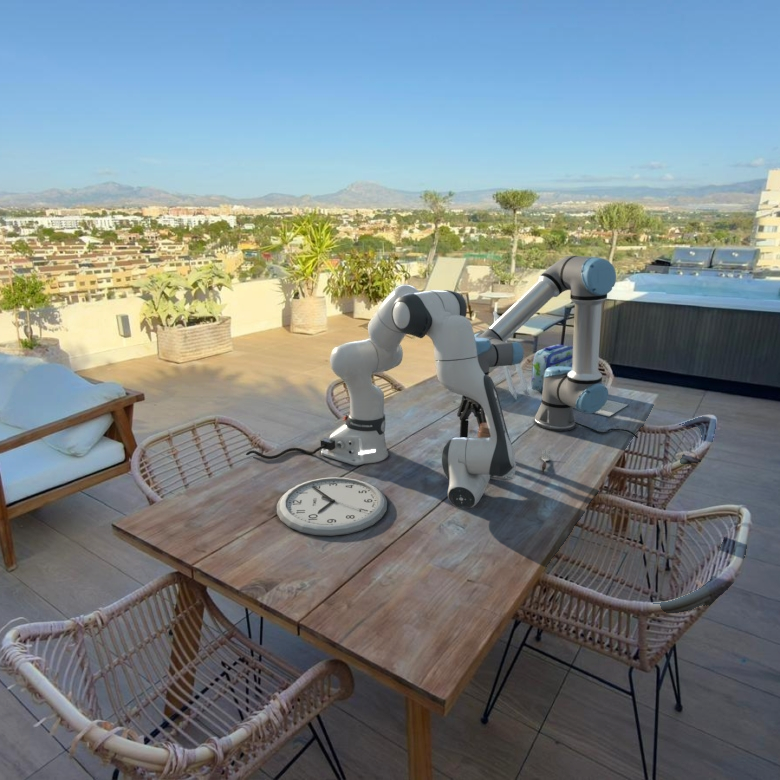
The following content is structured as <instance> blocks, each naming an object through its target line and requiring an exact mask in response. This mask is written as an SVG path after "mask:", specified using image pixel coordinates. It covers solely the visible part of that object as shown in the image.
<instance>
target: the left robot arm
mask: <svg viewBox="0 0 780 780" xmlns="http://www.w3.org/2000/svg"><path fill="white" fill-rule="evenodd" d="M467 312H468V307H467V303H466V300H465V298H464V296H463V295H462V294H460V293H459V292H457V291H453V290H449V289H446V290H445V289H444V290H426V291H420V290H419V289H418V288H416V287H414V286H412V285H409V284H401V285H398V286H397V287H395V288H394V289H393V290H392V291H391V292H389V294H388V295H387V296H386V297H385V298H384V300H383V301H381V303H380V305H379V306H378V308H377V310H376V311H375V313H374V314H373V316H372V318H371V319H370V320H369V322H368V324H367V333H368V336H369V338H366V339H362V340H356V341H350V342H345V343H342V344H340V345H338V346H336V347H334V348H333V349H332V351H331V353H330V356H329V365H330V369H331V370H332V372H333V374H334V375H336V376H337V377H339V378H340V379H341V380H342V381H343V383H345V385H346V387H347V390H348V396H349V411H348V413H347V414H345V416H344V417H343V418H342V422H345V423H344V424H342V425H341V426H339V427H337V429H335V430H333V432H331V434H330V435H329V437H324V438H322V439H320V446H319V447H316V448H315V449H313V450H312V451H310V450H306V449H304V448H300V447H290V448H286V449H284V450H282V451H280V452H279V453H277V454H275V455H265V454H263V453H261V452H260V451H257V450H255V449H253V450H252V449H251V450H249V451H247V452H246V453H245V455H246V456H250V455H251V454H255V455H257V456H259V457H261V458H263V459H266V460H272V459H276V458H277V459H278V458H279V457H282V456H283V455H285V454H287V453H289V452H293V451H294V452H295V451H296V452H301V453H304V454H307V455H314V454H316V453H317V452H320V455H321V456H323V457H326V458H329V459H332V460H336V461H339V462H342V463H345V464H349V465H352V466H361V465H366V464H373V463H379V462H382V461H384V460H386V459H387V458H388V457H389V451H388V448H387V443H386V437H385V436H386V434H385V431H386V414H385V393H384V391H383V389H382V388H381V387H380V386H378V385H377V384H374V383H373V380H372V376H373V375H374V374H379V373H384V372H388V371H390V370H392V369H395V368H396V367H399V366H400V364H401V363H402V361H403V358H404V351H403V347H402V345H401V342H402V341H403V340H404V338H405V337H406V335H409V336H413V337H416V338H419V339H423V338H424V337H425V336H427V337H428V338H429V339H430V340H431V341H432V344H433V354H434V365H435V372H436V376H437V377H436V378H437V379H438V381H439V383H440V384H441V385H442V386H443V387H444V388H445V389H447V390H448V391H450V392H452V393H454V394H457V395H460V396H462V395H463V396H466V397H469V398H471V399H473V400H475V401H476V402H478V403H479V404H480V405H481V406H482V408H483V410H484V413H485V417H486V421H487V425H488V429H489V433H490V437H487V438H478V437H470V436H468V437H460V436H459V437H456V436H455V437H452V438H450V439H449V440H448V441H447V443H446V444H445V446H444V447H443V450H442V452H441V453H442V454H441V465H442V470H443V473H444V475H445V478H446V479H447V480H448V481H449V482H448V488H447V498H448V500H449V502H450V504H452V505H453V506H454V507H455V508H458V509H462V510H469V509H472V508H474V507H475V506H476V505H477V504H478V503H479V502H480V500H481V499H482V496H484V493H485V490H486V489H487V486H488V485H489V483H490V480H496V481H501V482H508V481H511V480H513V479H514V477H515V474H516V469H517V463H516V455H515V454H516V453H515V449H514V447H513V444H512V441H511V438H510V436H509V433H508V428H507V425H506V420H505V417H504V414H503V410H502V406H501V405H502V404H501V401H500V398H499V395H498V391H497V388H496V385H495V383H494V380H493V379H492V377H491V376H490V375H489V376H487V375H485V374H484V372H483V371H482V369H481V367H480V365H479V362H478V355H477V347H476V341H475V336H474V335H475V332H474V329H473V325H472V323H471V321H470V319H469V318H467Z"/></svg>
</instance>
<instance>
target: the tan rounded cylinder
mask: <svg viewBox="0 0 780 780" xmlns="http://www.w3.org/2000/svg"><path fill="white" fill-rule="evenodd" d="M487 437H490V433H489V429H488V425H487V423H481V424H480V429H479V428H478V430H477V438H487Z"/></svg>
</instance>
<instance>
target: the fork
mask: <svg viewBox="0 0 780 780" xmlns="http://www.w3.org/2000/svg"><path fill="white" fill-rule="evenodd" d="M541 460H542V461H543V463H542V465H541V474H544V473H545V469H546V468H547V463H546V462H548V461H550V460H551V452H549V451H547V450H544V449H543V450H542V455H541Z"/></svg>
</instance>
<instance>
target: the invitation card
mask: <svg viewBox="0 0 780 780" xmlns="http://www.w3.org/2000/svg"><path fill="white" fill-rule="evenodd" d="M628 406H629V404H627V403H623V402H618V401H614V400H609V399H607V401H606V403H605V405H604V406H603V407H602V408H601V409H600V410H599V411H597V412H595V413H594V414H596V415H600V416H604V417H608V418H609V417H611V416H613V415H614V414H616V413H617V412H619V411H621V410H623V409H624V408H626V407H628Z"/></svg>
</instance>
